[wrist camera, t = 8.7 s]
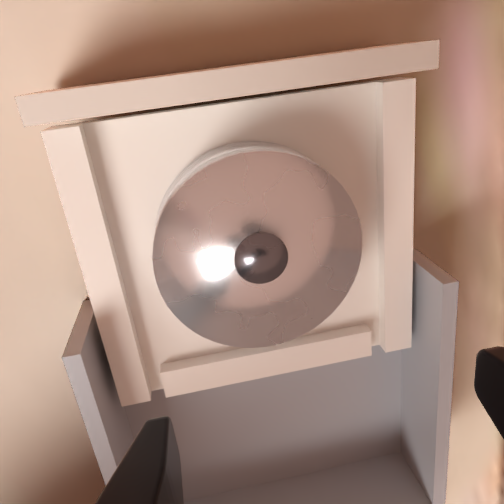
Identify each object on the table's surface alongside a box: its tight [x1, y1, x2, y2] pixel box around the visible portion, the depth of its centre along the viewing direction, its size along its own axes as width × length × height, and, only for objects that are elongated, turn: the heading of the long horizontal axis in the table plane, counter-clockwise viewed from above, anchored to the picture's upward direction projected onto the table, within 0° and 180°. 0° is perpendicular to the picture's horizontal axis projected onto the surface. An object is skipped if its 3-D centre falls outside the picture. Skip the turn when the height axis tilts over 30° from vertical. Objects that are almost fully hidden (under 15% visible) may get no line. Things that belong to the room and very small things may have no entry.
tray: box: [15, 40, 440, 407], centre depth 17 cm, size 12×12×4 cm
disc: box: [152, 141, 362, 348], centre depth 16 cm, size 7×7×2 cm
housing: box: [62, 247, 459, 504], centre depth 20 cm, size 12×14×4 cm
